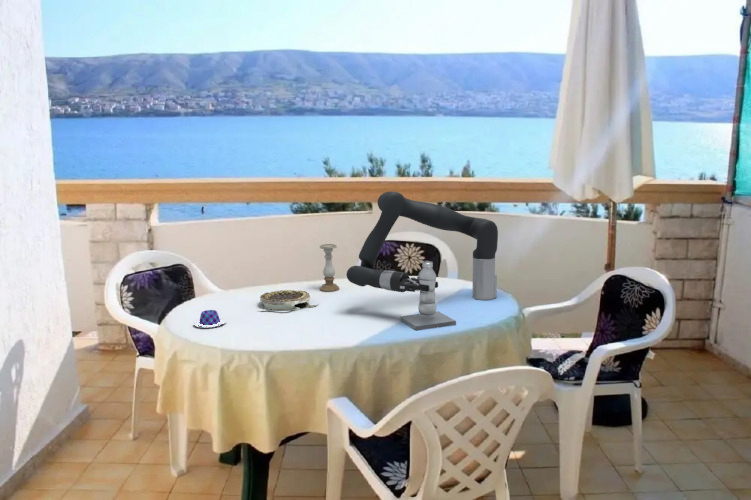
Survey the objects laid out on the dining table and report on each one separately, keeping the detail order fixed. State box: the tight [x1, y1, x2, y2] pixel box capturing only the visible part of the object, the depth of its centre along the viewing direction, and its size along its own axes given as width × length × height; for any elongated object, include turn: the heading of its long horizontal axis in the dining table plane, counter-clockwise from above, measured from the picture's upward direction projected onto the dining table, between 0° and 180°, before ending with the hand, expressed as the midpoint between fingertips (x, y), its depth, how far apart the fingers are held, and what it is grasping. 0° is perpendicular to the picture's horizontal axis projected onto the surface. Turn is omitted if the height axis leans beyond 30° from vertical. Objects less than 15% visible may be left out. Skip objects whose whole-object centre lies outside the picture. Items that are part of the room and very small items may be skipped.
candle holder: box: [319, 243, 340, 293], centre depth 291 cm, size 9×9×20 cm
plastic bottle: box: [417, 260, 437, 316], centre depth 237 cm, size 6×7×20 cm
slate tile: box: [399, 311, 457, 331], centre depth 239 cm, size 16×14×2 cm
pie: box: [259, 289, 318, 314], centre depth 270 cm, size 28×27×5 cm
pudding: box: [199, 309, 221, 325], centre depth 242 cm, size 12×12×5 cm
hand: (433, 286), depth 235 cm, fingers closed on plastic bottle, 6 cm apart
